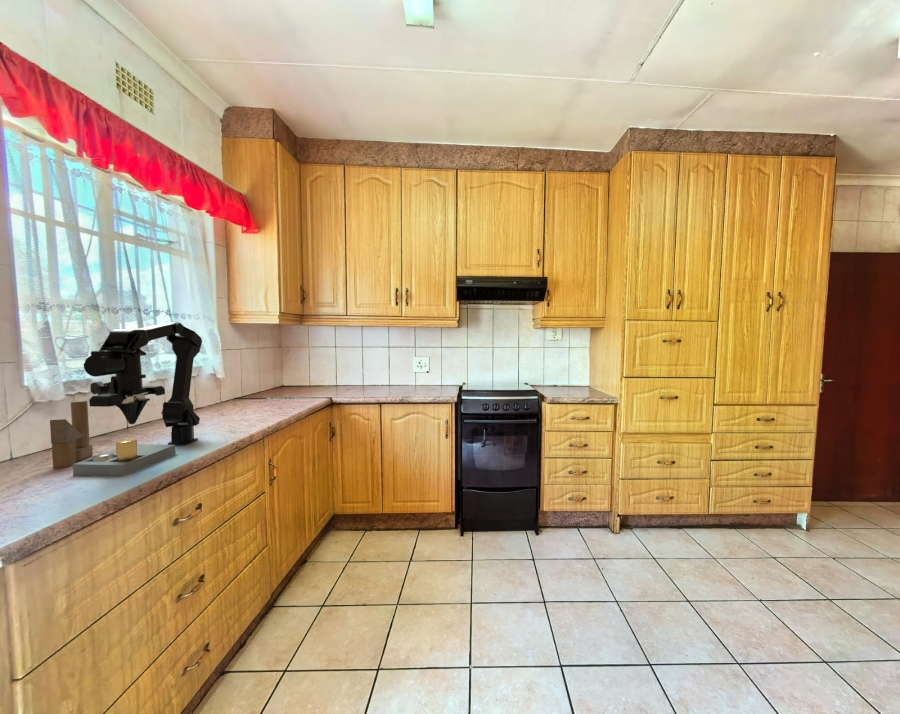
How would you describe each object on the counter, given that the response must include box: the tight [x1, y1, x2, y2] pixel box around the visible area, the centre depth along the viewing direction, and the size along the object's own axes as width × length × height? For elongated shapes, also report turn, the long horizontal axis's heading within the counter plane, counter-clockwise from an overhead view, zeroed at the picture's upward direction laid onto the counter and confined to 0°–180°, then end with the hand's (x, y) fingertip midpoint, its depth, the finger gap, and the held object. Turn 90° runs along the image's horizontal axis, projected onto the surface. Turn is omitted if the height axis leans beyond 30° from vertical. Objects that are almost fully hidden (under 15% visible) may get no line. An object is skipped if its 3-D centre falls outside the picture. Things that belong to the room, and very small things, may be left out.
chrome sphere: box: [91, 452, 114, 462], centre depth 102 cm, size 4×4×4 cm
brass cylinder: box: [115, 438, 138, 462], centre depth 101 cm, size 4×4×8 cm
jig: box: [72, 443, 177, 477], centre depth 106 cm, size 18×14×3 cm
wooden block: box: [49, 399, 94, 469], centre depth 107 cm, size 4×11×18 cm, turn 17°
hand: (132, 423), depth 105 cm, fingers closed
